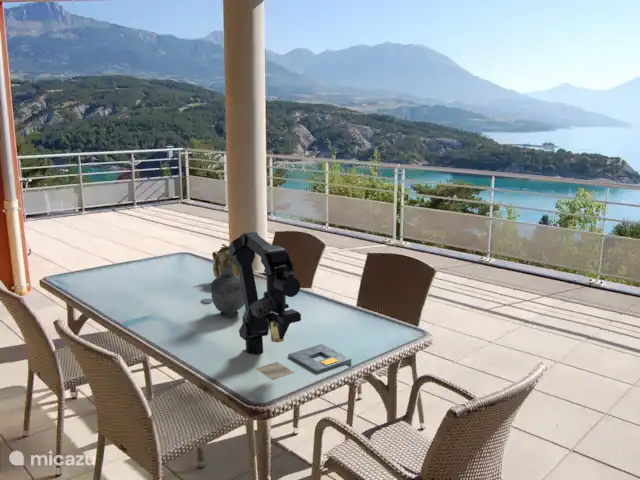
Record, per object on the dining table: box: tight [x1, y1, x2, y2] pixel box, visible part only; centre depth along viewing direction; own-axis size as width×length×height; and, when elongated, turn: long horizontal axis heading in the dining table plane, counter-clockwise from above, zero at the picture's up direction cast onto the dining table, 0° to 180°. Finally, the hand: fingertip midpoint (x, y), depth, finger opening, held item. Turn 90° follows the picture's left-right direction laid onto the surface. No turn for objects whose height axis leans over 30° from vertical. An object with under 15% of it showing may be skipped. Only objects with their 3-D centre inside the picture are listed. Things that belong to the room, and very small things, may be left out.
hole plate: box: [287, 343, 352, 375], centre depth 179 cm, size 16×14×2 cm
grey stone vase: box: [210, 243, 245, 318], centre depth 226 cm, size 11×19×30 cm, turn 34°
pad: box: [255, 361, 295, 381], centre depth 172 cm, size 10×8×1 cm
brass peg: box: [270, 320, 285, 343], centre depth 170 cm, size 4×4×6 cm
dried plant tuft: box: [211, 250, 240, 279], centre depth 273 cm, size 22×17×15 cm
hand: (277, 336), depth 170 cm, fingers closed on brass peg, 4 cm apart
